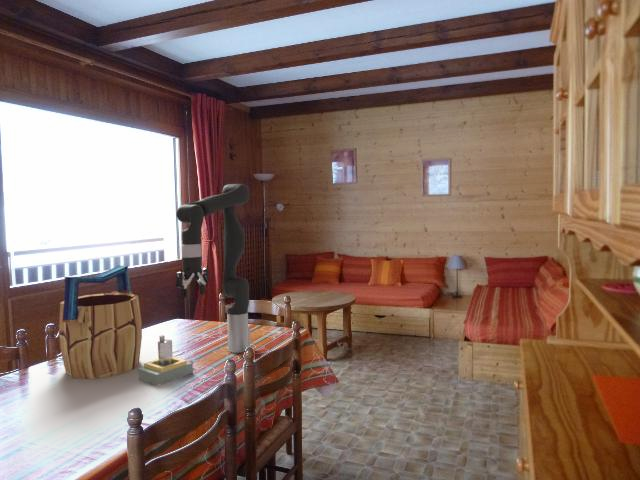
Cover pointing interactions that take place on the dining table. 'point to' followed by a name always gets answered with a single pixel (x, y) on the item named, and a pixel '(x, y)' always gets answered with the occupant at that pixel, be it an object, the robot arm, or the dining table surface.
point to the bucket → (100, 328)
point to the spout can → (165, 352)
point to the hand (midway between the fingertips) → (193, 296)
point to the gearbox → (164, 371)
